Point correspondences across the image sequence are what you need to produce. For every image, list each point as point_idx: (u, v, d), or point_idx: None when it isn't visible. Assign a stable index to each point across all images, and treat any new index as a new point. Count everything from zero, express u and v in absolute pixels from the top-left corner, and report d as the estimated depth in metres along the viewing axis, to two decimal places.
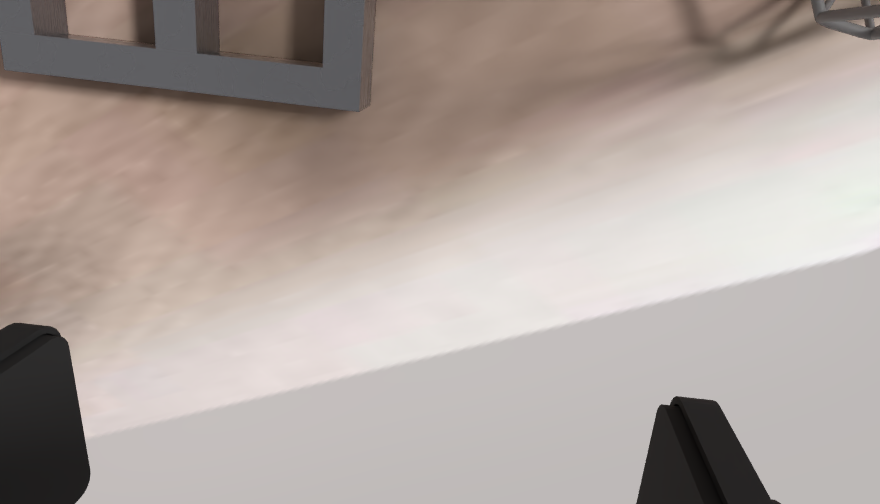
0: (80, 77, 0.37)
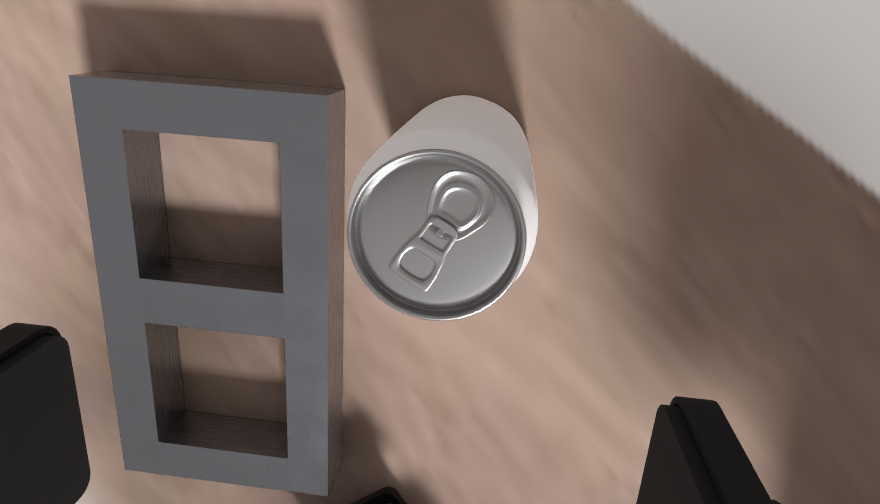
0: (85, 180, 0.29)
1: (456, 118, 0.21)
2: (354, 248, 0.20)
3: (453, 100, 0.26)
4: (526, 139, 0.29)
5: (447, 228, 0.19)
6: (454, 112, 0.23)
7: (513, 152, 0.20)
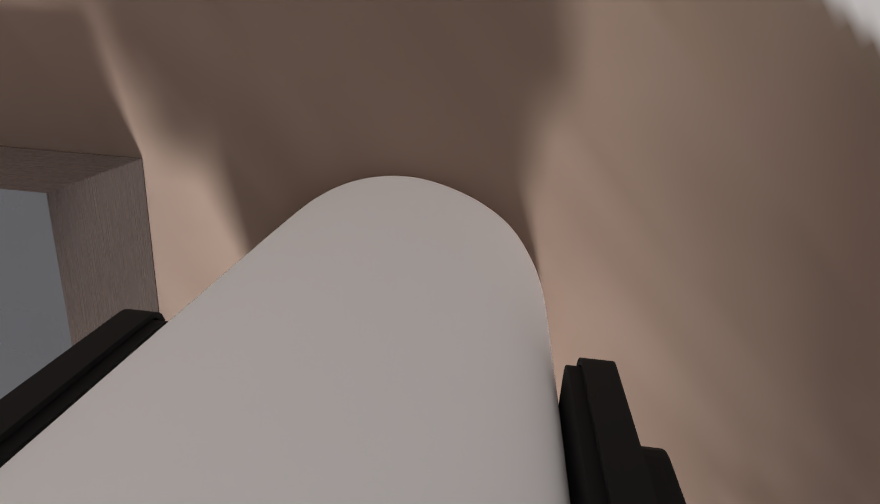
0: None
1: (268, 390, 0.05)
2: None
3: (353, 207, 0.10)
4: (537, 276, 0.13)
5: None
6: (301, 311, 0.07)
7: None
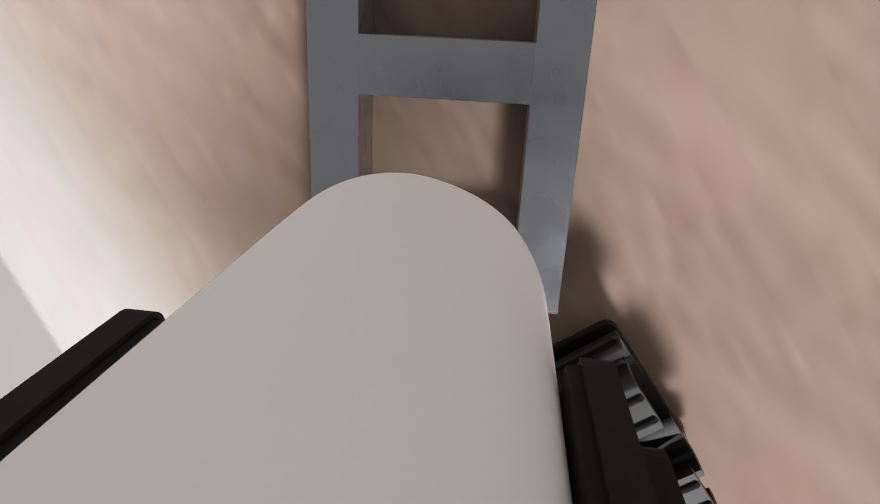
0: None
1: (269, 383, 0.05)
2: None
3: (354, 203, 0.10)
4: (537, 273, 0.13)
5: None
6: (302, 306, 0.07)
7: None
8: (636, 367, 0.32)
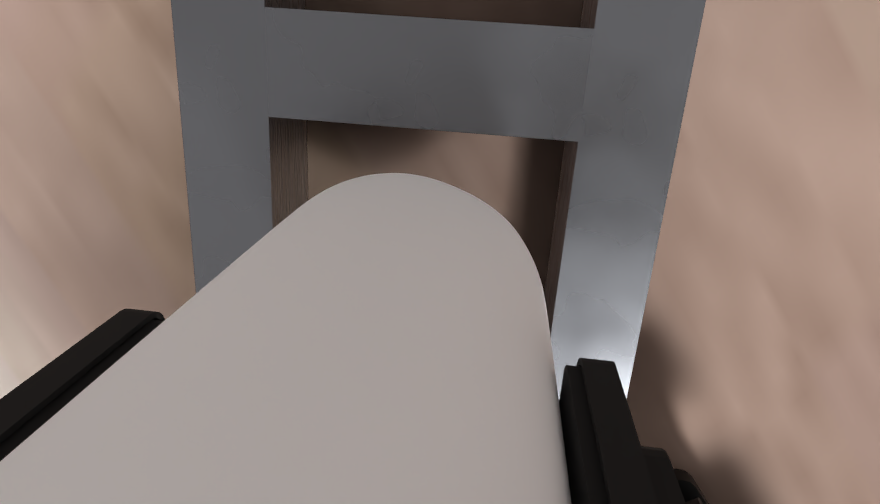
0: None
1: (268, 384, 0.05)
2: None
3: (353, 204, 0.10)
4: (537, 273, 0.13)
5: None
6: (301, 306, 0.07)
7: None
8: None
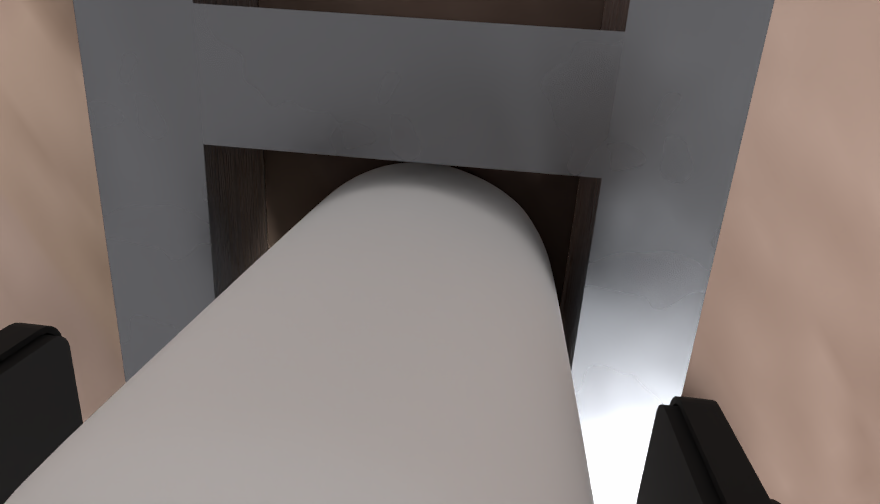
0: None
1: (345, 316, 0.07)
2: None
3: (386, 187, 0.12)
4: (546, 252, 0.14)
5: None
6: (358, 263, 0.08)
7: (533, 457, 0.06)
8: None
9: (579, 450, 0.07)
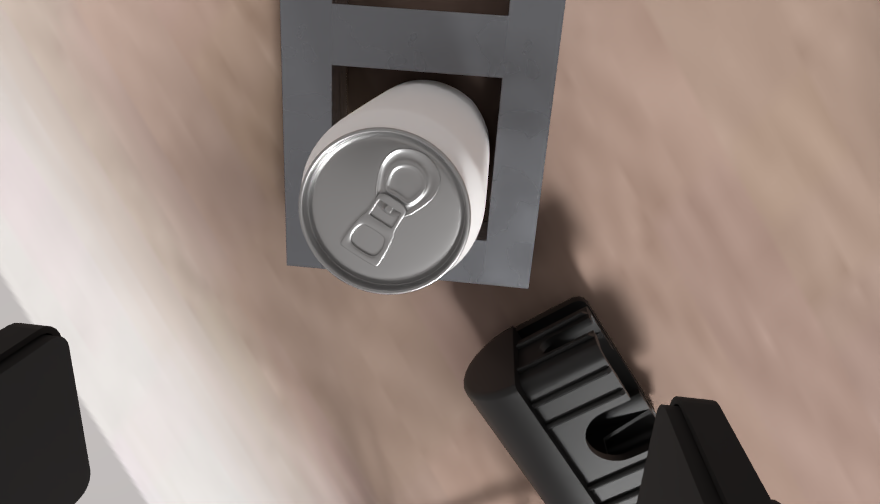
0: None
1: (407, 99, 0.22)
2: (306, 224, 0.20)
3: (411, 84, 0.27)
4: (484, 122, 0.29)
5: (395, 205, 0.20)
6: (407, 94, 0.23)
7: (461, 132, 0.21)
8: (606, 343, 0.32)
9: (480, 151, 0.23)
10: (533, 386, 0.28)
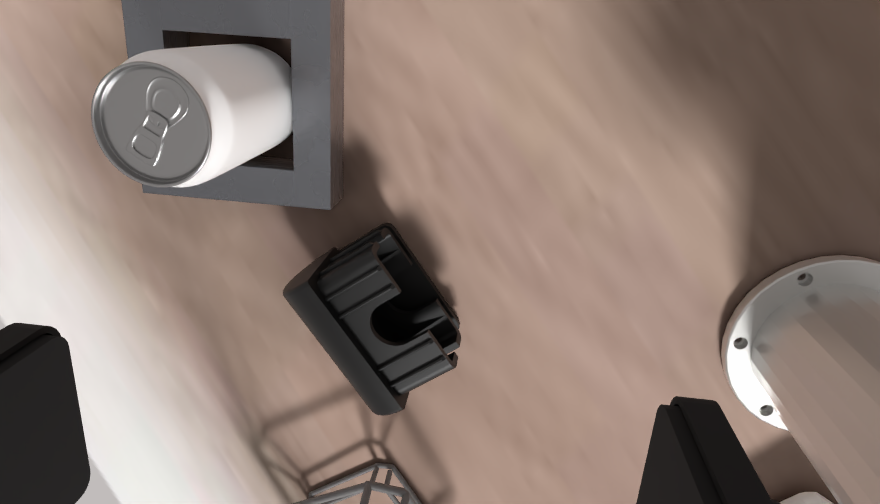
0: None
1: (186, 48, 0.30)
2: (99, 135, 0.28)
3: None
4: None
5: (160, 119, 0.28)
6: (196, 46, 0.31)
7: (220, 70, 0.29)
8: (404, 258, 0.40)
9: (247, 88, 0.31)
10: (325, 283, 0.36)
